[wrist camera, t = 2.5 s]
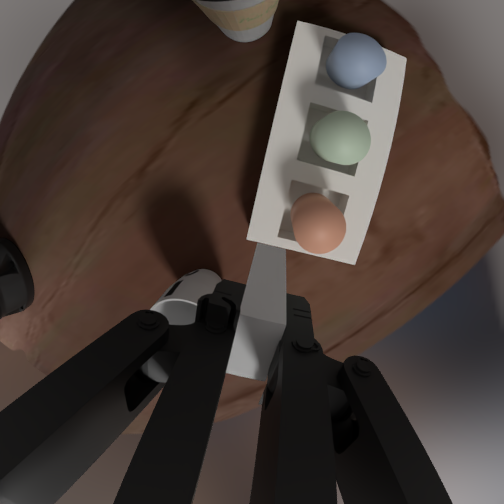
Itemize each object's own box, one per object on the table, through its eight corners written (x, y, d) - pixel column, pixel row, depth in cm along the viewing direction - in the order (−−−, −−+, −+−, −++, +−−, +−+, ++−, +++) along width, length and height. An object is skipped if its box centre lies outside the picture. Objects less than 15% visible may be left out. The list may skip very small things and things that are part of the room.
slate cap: (321, 81, 23) (331, 67, 18) (329, 44, 21) (340, 25, 16) (365, 95, 23) (382, 86, 18) (371, 58, 21) (389, 44, 16)
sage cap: (304, 154, 25) (311, 156, 21) (315, 111, 24) (323, 103, 19) (348, 167, 26) (363, 171, 21) (358, 125, 24) (376, 121, 19)
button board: (249, 228, 32) (246, 239, 28) (294, 34, 23) (297, 20, 20) (346, 251, 32) (354, 265, 29) (392, 66, 23) (406, 58, 20)
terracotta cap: (285, 230, 28) (287, 247, 24) (296, 187, 27) (301, 195, 22) (327, 240, 28) (337, 259, 24) (339, 199, 27) (352, 210, 22)
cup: (195, 245, 34) (167, 282, 24) (248, 282, 35) (239, 330, 26) (165, 289, 36) (135, 333, 27) (214, 322, 38) (198, 372, 28)
